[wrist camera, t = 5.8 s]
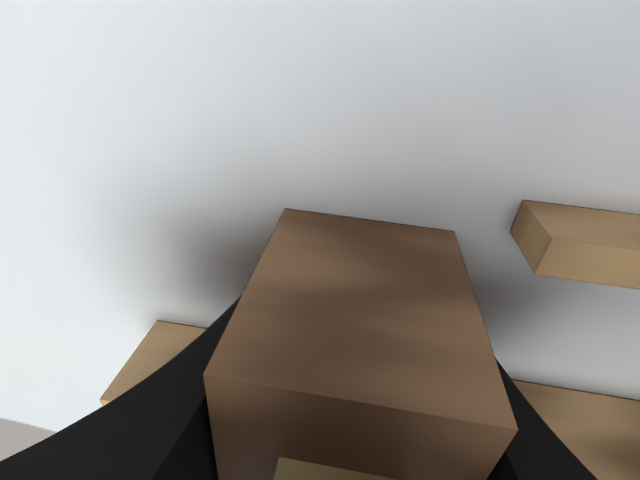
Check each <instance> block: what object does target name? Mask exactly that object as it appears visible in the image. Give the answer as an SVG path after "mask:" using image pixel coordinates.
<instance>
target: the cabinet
mask: <svg viewBox="0 0 640 480" xmlns="http://www.w3.org/2000/svg"><path fill="white" fill-rule="evenodd" d="M203 378H204V384H205V391H206V398H207V405H208V411H209V418H210V425H211V432H212V438H213V445H214V452H215V459H216V466H217V472H218V479H219V480H486V479H487V478H488V476H489V475H490V473H491V472H492V470H493V468H494V467H495V465H496V464H497V462H498V461H499V459H500V458H501V456H502V455H503V453H504V451H505V450H506V448H507V447H508V445H509V444H510V442H511V441H512V439H513V438H514V436H515V434H516V433H517V431H518V427H517V424H516V421H515V418H514V415H513V412H512V409H511V406H510V402H509V399H508V396H507V393H506V390H505V387H504V384H503V381H502V378H501V375H500V372H499V369H498V365H497V362H496V359H495V356H494V353H493V350H492V347H491V344H490V341H489V338H488V335H487V332H486V328H485V325H484V322H483V319H482V316H481V313H480V310H479V307H478V304H477V301H476V298H475V295H474V291H473V288H472V285H471V282H470V279H469V276H468V273H467V270H466V267H465V264H464V261H463V258H462V254H461V251H460V248H459V245H458V242H457V239H456V236H455V233H454V231H447V230H439V229H432V228H425V227H417V226H410V225H403V224H395V223H388V222H380V221H373V220H366V219H358V218H351V217H344V216H336V215H329V214H322V213H314V212H307V211H299V210H292V209H284V211H283V213H282V215H281V217H280V219H279V221H278V223H277V226H276V228H275V230H274V232H273V234H272V236H271V238H270V240H269V242H268V244H267V246H266V248H265V250H264V252H263V254H262V256H261V258H260V260H259V262H258V264H257V266H256V268H255V270H254V272H253V274H252V276H251V278H250V280H249V282H248V284H247V286H246V288H245V290H244V292H243V294H242V296H241V298H240V301H239V303H238V305H237V307H236V309H235V311H234V313H233V315H232V317H231V319H230V321H229V323H228V325H227V327H226V329H225V331H224V333H223V335H222V337H221V339H220V341H219V343H218V345H217V347H216V349H215V351H214V353H213V355H212V357H211V359H210V361H209V363H208V365H207V367H206V369H205V371H204V373H203Z"/></svg>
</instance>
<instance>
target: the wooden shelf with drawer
mask: <svg viewBox="0 0 640 480" xmlns="http://www.w3.org/2000/svg"><path fill="white" fill-rule="evenodd" d="M510 233H511V234H512V236H513V238H514V239H515V241H516V243H517V245H518V246H519V248H520V250H521V252H522V253H523V255H524V257H525V259H526V260H527V262H528V264H529V265H530V267H531V269H532V271H533V272H534V274H535V275H542V276H548V277H555V278H562V279H569V280H576V281H583V282H590V283H597V284H604V285H611V286H618V287H625V288H632V289H639V290H640V215H636V214H628V213H620V212H612V211H605V210H597V209H589V208H581V207H574V206H566V205H558V204H550V203H543V202H535V201H527V200H523V202H522V204H521V207H520V209H519V212H518V214H517V217H516V219H515V221H514V224H513V226H512V229H511V231H510ZM205 330H206V329H204V328H198V327H192V326H186V325H180V324H174V323H168V322H162V321H156V323H155V324H154V325H153V327H152V328H151V330H150V331H149V332H148V334H147V335H146V336H145V338H144V339H143V341H142V342H141V343H140V345H139V346H138V347H137V349H136V350H135V352H134V353H133V354H132V356H131V357H130V358H129V360H128V361H127V362H126V364H125V365H124V367H123V368H122V369H121V371H120V372H119V373H118V375H117V376H116V378H115V379H114V380H113V382H112V383H111V384H110V386H109V387H108V389H107V390H106V391H105V393H104V394H103V395H102V397H101V398H100V401H101V404H102V406H104V405H106V404H107V403H109V402H111V401H112V400H114V399H115V398H117V397H118V396H120V395H121V394H123V393H124V392H126V391H127V390H129V389H130V388H132V387H133V386H135V385H136V384H138V383H139V382H141V381H142V380H144V379H145V378H147V377H148V376H149V375H151V374H152V373H154V372H155V371H156V370H158V369H159V368H160V367H162V366H163V365H164V364H166V363H167V362H168V361H169V360H171V359H172V358H173V357H175V356H176V355H177V354H178V353H180V352H181V351H182V350H183V349H184V348H185V347H187V346H188V345H189V344H190V343H191V342H193V341H194V340H195V339H196V338H197V337H198V336H200V335H201V334H202V333H203V332H204V331H205ZM512 381H513V382H514V384H515V385H516V387H517V388H518V389H519V391H520V392H521V393H522V394H523V396H524V397H525V398H526V400H527V401H528V402H529V403H530V405H531V406H532V407H533V408H534V409H535V411H536V412H537V413H538V414H539V415H540V417H541V418H542V419H543V420H544V422H545V423H546V424H547V425H548V426H549V427H550V429H551V430H552V431H553V432H554V433H555V434H556V435H557V437H558V438H559V439H560V440H561V441H562V442H563V443H564V444H565V445H566V446H567V447H568V448H569V450H570V451H571V452H572V453H573V454H574V455H575V456H576V457H577V458H578V459H579V460H580V462H581V463H582V464H583V465H584V466H585V467H586V468H587V469H588V470H589V471H590V472H591V473H592V474H593V475H594V476H595V477H596V478H597V479H598V480H640V401H635V400H629V399H623V398H617V397H611V396H605V395H599V394H593V393H587V392H581V391H575V390H569V389H563V388H557V387H551V386H545V385H539V384H533V383H527V382H521V381H515V380H512Z"/></svg>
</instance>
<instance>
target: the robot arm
mask: <svg viewBox="0 0 640 480" xmlns="http://www.w3.org/2000/svg"><path fill="white" fill-rule="evenodd" d="M241 296H242V295H241ZM241 296H240V297H239V298H238V299H237V300H236V301H235V302H234V303H233V304H232V305H231V306H230V307H229V308H228V309H227V310H226V311H225V312H224V313H223V314H222V315H221V316H220V317H219V318H218V319H217V320H216V321H215V322H214V323H213V324H212V325H210V326H209V327H208V328H207V329H206V330H205V331H204V332H203V333H202V334H201V335H200V336H198V337H197V338H196V339H195V340H194V341H193V342H191V343H190V344H189V345H188V346H187V347H185V348H184V349H183V350H182V351H181V352H180V353H178V354H177V355H176V356H175V357H173V358H172V359H171V360H169V361H168V362H167V363H166V364H164V365H163V366H162V367H160V368H159V369H158V370H156V371H155V372H154V373H152V374H151V375H149V376H148V377H147V378H145V379H144V380H142V381H141V382H139V383H138V384H136V385H135V386H133V387H132V388H130V389H129V390H127V391H126V392H124V393H123V394H121V395H120V396H118V397H117V398H115V399H114V400H112V401H111V402H109V403H107V404H106V405H104V406H103V407H101V408H99V409H98V410H96V411H94V412H92V413H91V414H89V415H87V416H85V417H84V418H82V419H80V420H78V421H77V422H75V423H73V424H72V425H70V426H68V427H66V428H65V429H63V430H61V431H59V432H57V433H56V434H54V435H52V436H50V437H48V438H46V439H45V440H43V441H41V442H39V443H37V444H35V445H33V446H31V447H29V448H27V449H25V450H23V451H21V452H18V453H16V454H14V455H12V456H10V457H9V458H7V459H4V460H2V461H0V480H219V479H218V472H217V466H216V459H215V452H214V445H213V438H212V432H211V425H210V418H209V411H208V405H207V398H206V391H205V384H204V378H203V373H204V371H205V369H206V367H207V365H208V363H209V361H210V359H211V357H212V355H213V353H214V351H215V349H216V347H217V345H218V343H219V341H220V339H221V337H222V335H223V333H224V331H225V329H226V327H227V325H228V323H229V321H230V319H231V317H232V315H233V313H234V311H235V309H236V307H237V305H238V303H239V301H240V298H241ZM495 359H496V358H495ZM496 362H497V365H498V369H499V372H500V375H501V378H502V381H503V384H504V387H505V390H506V393H507V396H508V399H509V402H510V406H511V409H512V412H513V415H514V418H515V421H516V424H517V427H518V431H517V433H516V434H515V436H514V438H513V439H512V441H511V442H510V444H509V445H508V447H507V448H506V450H505V451H504V453H503V455H502V456H501V458H500V459H499V461H498V462H497V464H496V465H495V467H494V468H493V470H492V472H491V473H490V475H489V476H488V478H487V479H486V480H598V479H597V478H596V477H595V476H594V475H593V474H592V473H591V472H590V471H589V470H588V469H587V468H586V467H585V466H584V465H583V464H582V463H581V462H580V460H579V459H578V458H577V457H576V456H575V455H574V454H573V453H572V452H571V451H570V450H569V448H568V447H567V446H566V445H565V444H564V443H563V442H562V441H561V440H560V439H559V438H558V437H557V435H556V434H555V433H554V432H553V431H552V430H551V429H550V427H549V426H548V425H547V424H546V423H545V422H544V420H543V419H542V418H541V417H540V415H539V414H538V413H537V412H536V411H535V409H534V408H533V407H532V406H531V405H530V403H529V402H528V401H527V400H526V398H525V397H524V396H523V394H522V393H521V392H520V391H519V389H518V388H517V387H516V385H515V384H514V382H513V381H512V380H511V378H510V377H509V376H508V374H507V373H506V372H505V370H504V369H503V368H502V366H501V365H500V363H499V362H498V361H497V359H496Z"/></svg>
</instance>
